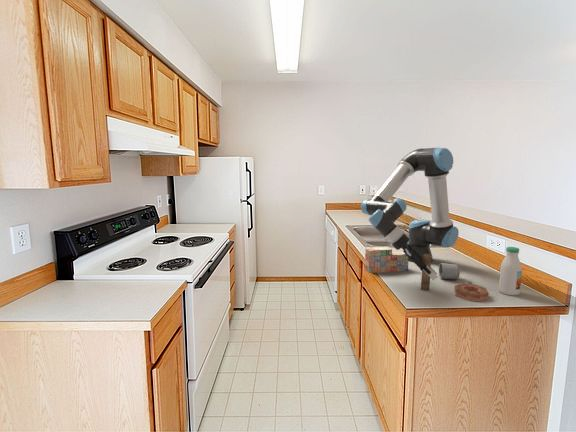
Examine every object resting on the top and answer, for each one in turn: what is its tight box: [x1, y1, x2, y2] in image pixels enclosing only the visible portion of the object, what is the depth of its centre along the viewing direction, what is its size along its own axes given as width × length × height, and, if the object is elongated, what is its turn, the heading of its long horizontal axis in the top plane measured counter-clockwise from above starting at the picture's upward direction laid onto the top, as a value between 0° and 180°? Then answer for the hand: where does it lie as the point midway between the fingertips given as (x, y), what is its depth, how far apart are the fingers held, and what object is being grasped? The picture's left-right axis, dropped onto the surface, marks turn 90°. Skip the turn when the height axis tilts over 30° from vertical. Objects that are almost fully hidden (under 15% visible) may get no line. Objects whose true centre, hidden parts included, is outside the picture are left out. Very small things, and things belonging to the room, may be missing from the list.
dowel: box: [420, 254, 432, 292], centre depth 153 cm, size 4×4×16 cm
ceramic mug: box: [438, 262, 461, 280], centre depth 168 cm, size 11×8×8 cm
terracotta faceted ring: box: [454, 283, 489, 302], centre depth 146 cm, size 12×12×3 cm
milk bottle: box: [498, 246, 523, 297], centre depth 147 cm, size 8×8×20 cm
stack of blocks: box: [364, 246, 409, 274], centre depth 181 cm, size 21×6×12 cm, turn 95°
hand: (435, 276), depth 152 cm, fingers closed on dowel, 3 cm apart
